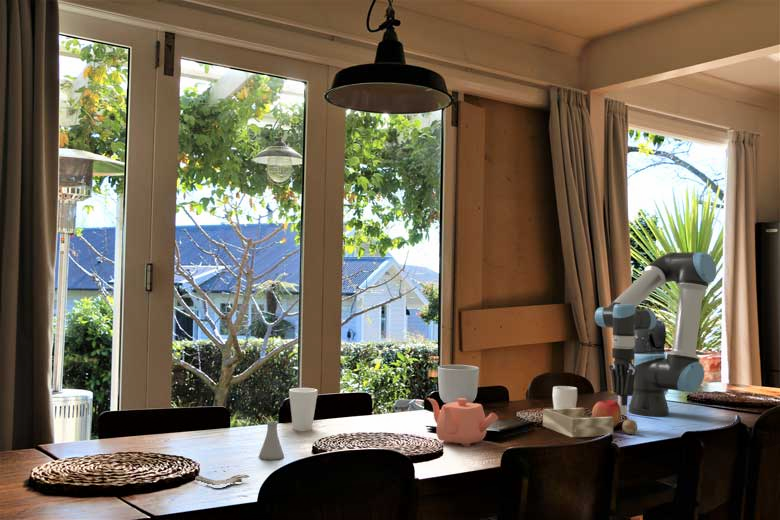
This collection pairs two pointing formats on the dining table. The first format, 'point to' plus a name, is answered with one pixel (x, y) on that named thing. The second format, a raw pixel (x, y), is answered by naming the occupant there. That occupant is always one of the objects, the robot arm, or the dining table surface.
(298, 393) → the foam cup
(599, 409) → the apple
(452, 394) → the planter
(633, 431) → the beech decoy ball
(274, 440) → the flask
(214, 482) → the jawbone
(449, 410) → the teapot
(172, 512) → the dining table surface
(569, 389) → the cup
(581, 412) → the beige shallow open box
